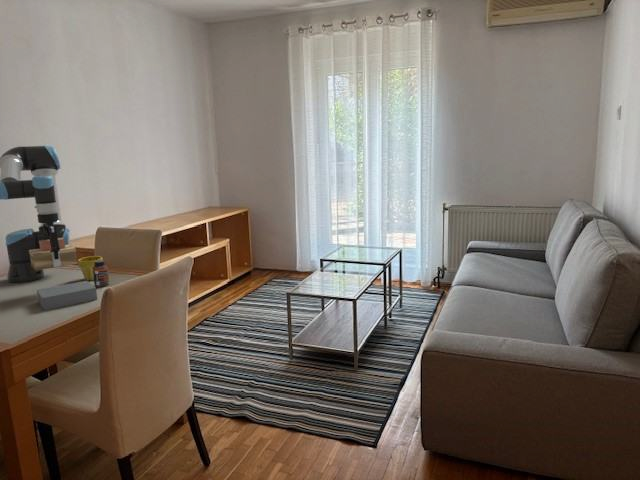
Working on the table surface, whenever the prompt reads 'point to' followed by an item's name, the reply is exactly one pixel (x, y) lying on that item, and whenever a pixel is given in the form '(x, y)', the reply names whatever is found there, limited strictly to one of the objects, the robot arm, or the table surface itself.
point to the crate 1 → (45, 245)
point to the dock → (66, 295)
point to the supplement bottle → (100, 274)
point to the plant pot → (88, 266)
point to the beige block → (45, 260)
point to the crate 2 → (61, 243)
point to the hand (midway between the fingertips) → (54, 263)
